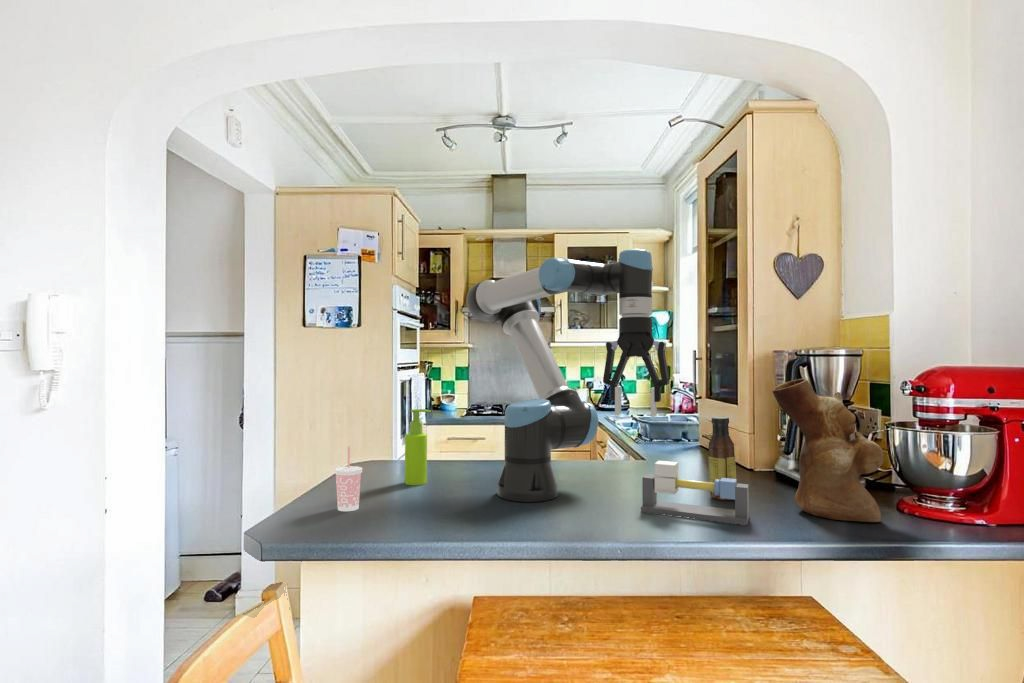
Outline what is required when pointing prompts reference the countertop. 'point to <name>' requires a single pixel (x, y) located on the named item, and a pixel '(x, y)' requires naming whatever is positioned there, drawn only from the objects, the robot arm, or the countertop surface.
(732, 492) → the twin post rod stand
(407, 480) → the soap dispenser
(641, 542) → the countertop surface
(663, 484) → the sleeve
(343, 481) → the beverage cup
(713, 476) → the sauce bottle
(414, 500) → the countertop surface
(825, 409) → the ceramic vessel
